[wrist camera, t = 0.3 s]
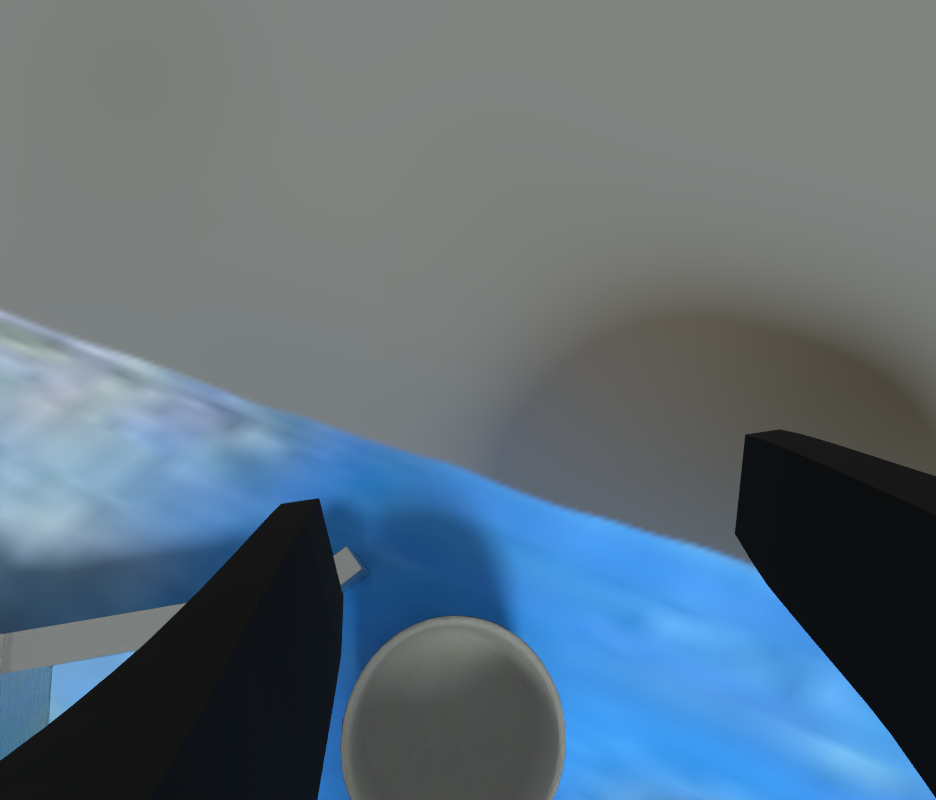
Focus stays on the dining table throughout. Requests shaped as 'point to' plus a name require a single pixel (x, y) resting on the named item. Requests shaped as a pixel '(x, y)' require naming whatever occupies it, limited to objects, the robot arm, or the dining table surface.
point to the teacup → (453, 718)
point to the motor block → (84, 655)
